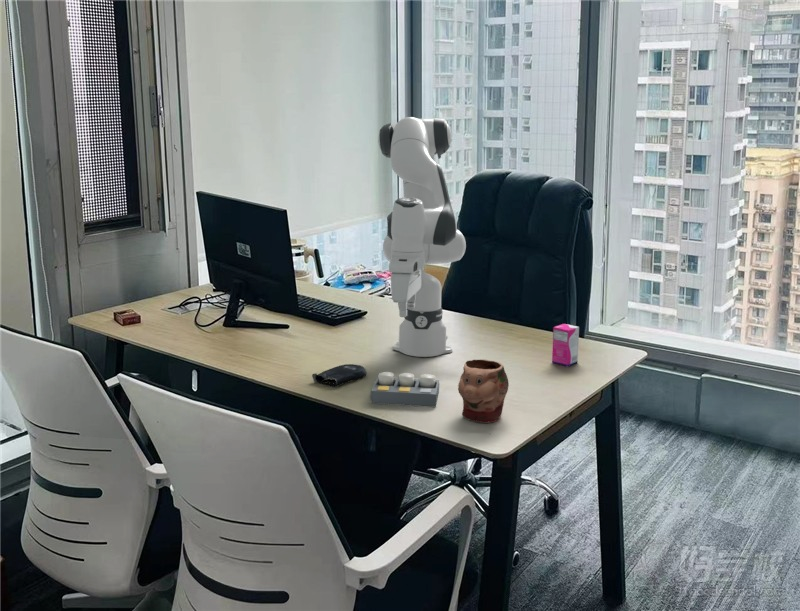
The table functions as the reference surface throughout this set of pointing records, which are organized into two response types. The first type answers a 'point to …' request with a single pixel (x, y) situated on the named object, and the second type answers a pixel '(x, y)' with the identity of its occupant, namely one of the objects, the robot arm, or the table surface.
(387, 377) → the end button
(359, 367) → the electronic device
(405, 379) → the middle button
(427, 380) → the button
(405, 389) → the button panel
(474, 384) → the character mug
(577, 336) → the supplement box
